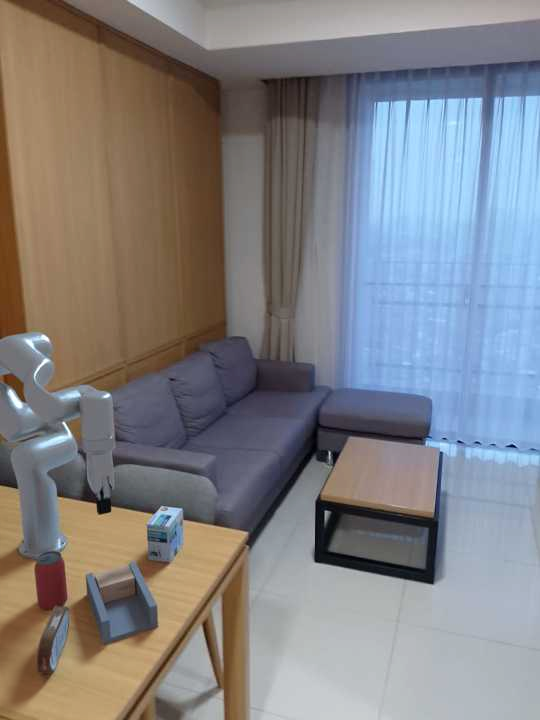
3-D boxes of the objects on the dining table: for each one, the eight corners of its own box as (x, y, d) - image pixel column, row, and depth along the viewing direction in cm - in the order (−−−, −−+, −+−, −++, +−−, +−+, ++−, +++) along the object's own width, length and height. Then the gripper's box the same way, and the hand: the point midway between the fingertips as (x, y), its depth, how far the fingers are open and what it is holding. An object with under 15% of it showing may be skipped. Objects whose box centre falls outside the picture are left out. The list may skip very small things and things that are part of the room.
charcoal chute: (87, 594, 136) (85, 574, 135) (136, 580, 141) (135, 561, 140) (103, 644, 120) (101, 622, 118) (158, 626, 125) (157, 605, 124)
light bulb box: (171, 563, 149) (169, 527, 146) (147, 560, 150) (145, 524, 148) (184, 542, 159) (183, 507, 157) (162, 539, 160) (161, 505, 158)
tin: (58, 630, 124) (55, 597, 122) (73, 629, 124) (70, 596, 122) (36, 684, 109) (32, 647, 107) (53, 683, 110) (49, 646, 108)
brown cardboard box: (95, 590, 136) (94, 573, 135) (129, 580, 139) (128, 564, 138) (100, 604, 131) (99, 587, 130) (135, 594, 134) (134, 577, 133)
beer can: (37, 597, 135) (33, 553, 132) (66, 590, 137) (62, 547, 135) (38, 614, 129) (33, 568, 126) (68, 607, 131) (64, 561, 129)
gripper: (77, 435, 139) (83, 503, 143) (88, 456, 126) (94, 529, 130) (108, 430, 142) (112, 496, 147) (122, 450, 130) (126, 522, 134)
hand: (104, 512), depth 138 cm, fingers closed
